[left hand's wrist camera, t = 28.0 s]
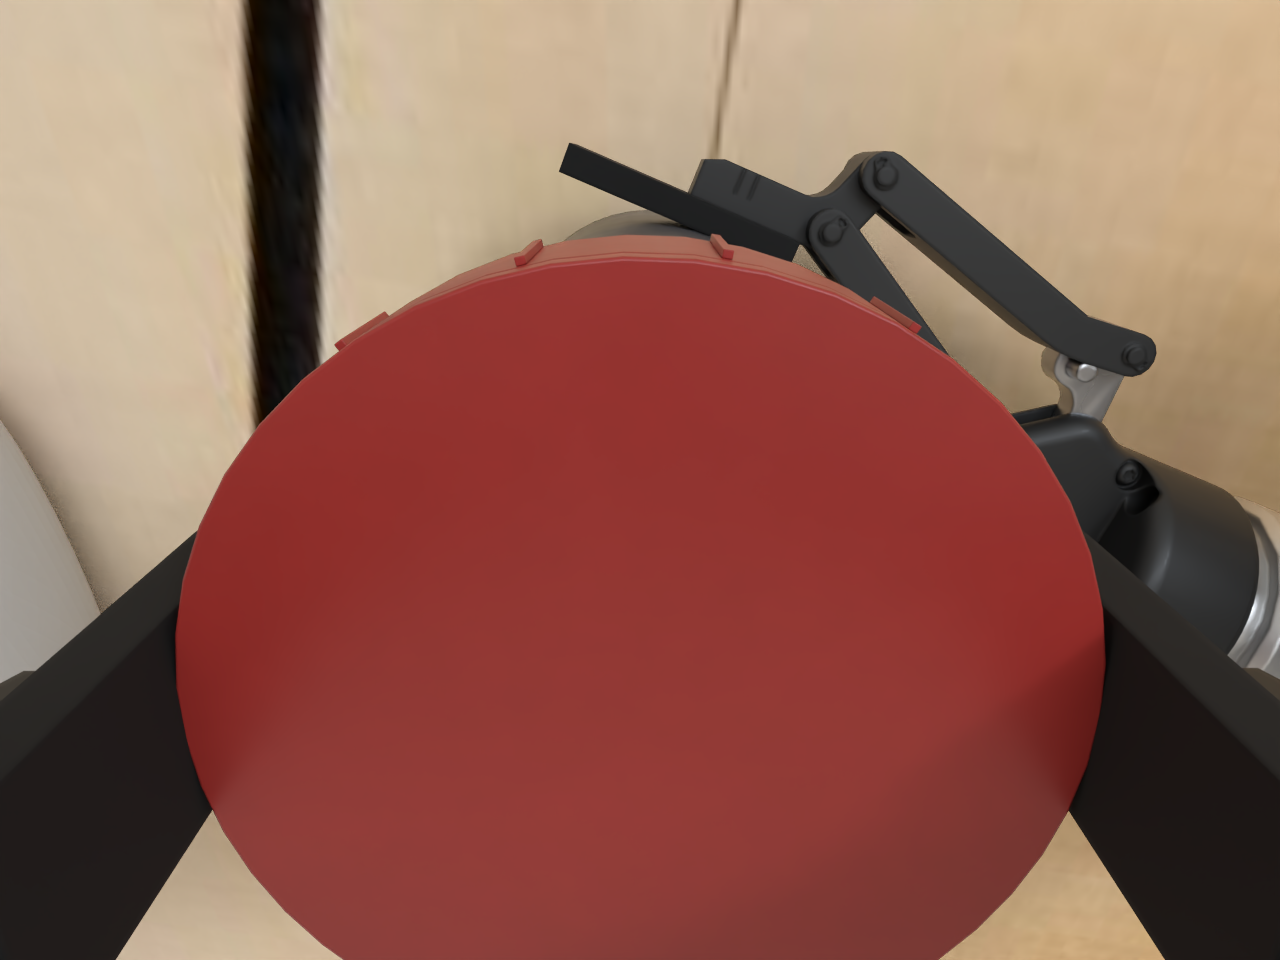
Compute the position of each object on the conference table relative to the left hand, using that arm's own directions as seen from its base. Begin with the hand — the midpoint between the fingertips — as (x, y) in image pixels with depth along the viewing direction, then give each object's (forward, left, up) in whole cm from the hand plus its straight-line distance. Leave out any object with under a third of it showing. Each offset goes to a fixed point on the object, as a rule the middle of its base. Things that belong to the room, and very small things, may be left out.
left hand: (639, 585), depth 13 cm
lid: (0, 0, +3) cm, 3 cm away
